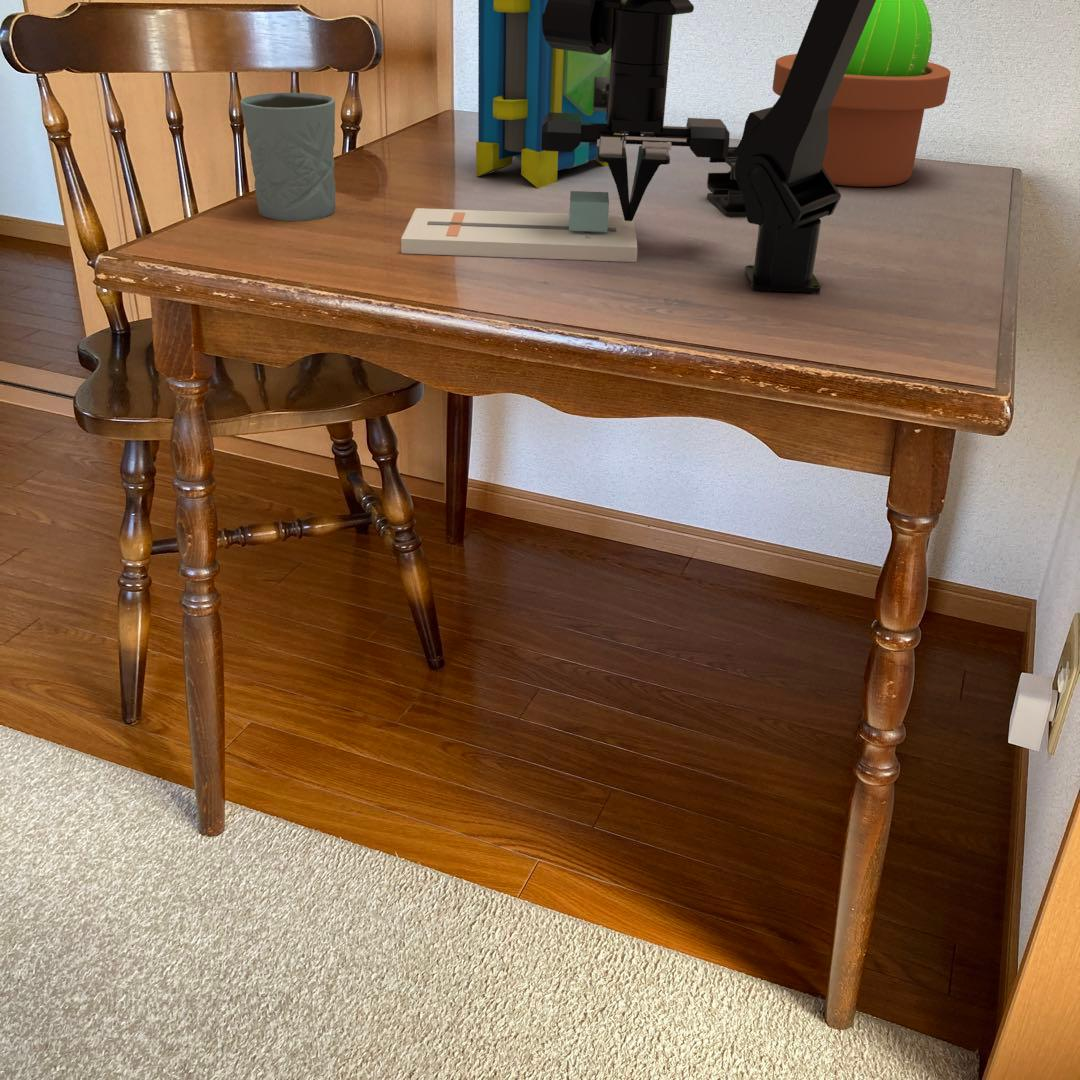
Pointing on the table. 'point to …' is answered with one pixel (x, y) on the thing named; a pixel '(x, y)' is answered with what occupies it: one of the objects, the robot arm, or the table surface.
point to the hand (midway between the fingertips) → (628, 220)
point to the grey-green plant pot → (292, 154)
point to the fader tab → (588, 211)
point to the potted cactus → (881, 97)
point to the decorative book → (529, 91)
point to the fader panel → (515, 236)
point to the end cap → (726, 188)
